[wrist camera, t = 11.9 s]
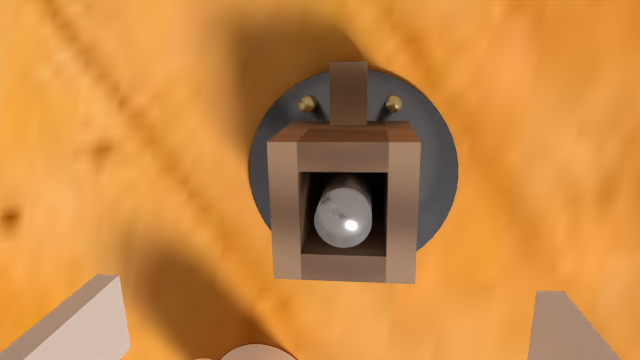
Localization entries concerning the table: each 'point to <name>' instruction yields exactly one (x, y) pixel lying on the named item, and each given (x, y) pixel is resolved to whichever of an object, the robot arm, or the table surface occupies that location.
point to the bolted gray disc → (363, 187)
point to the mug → (256, 353)
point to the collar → (344, 156)
